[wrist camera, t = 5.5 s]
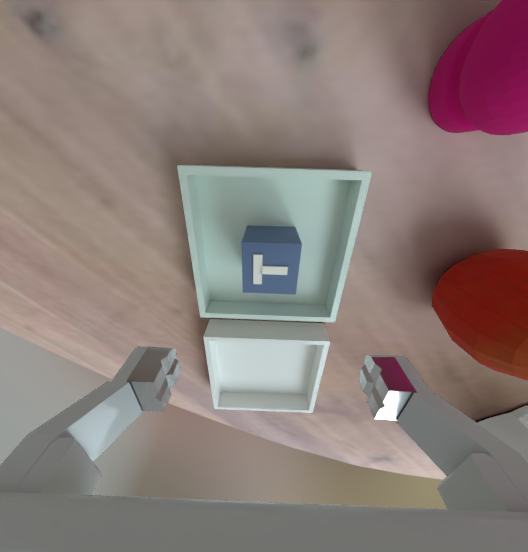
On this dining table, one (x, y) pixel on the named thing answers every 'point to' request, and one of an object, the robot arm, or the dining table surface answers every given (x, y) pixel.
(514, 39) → the pepper mill
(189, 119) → the dining table surface
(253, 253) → the letter cube
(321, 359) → the tray offwhite
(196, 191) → the tray sage
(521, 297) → the apple
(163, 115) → the dining table surface
